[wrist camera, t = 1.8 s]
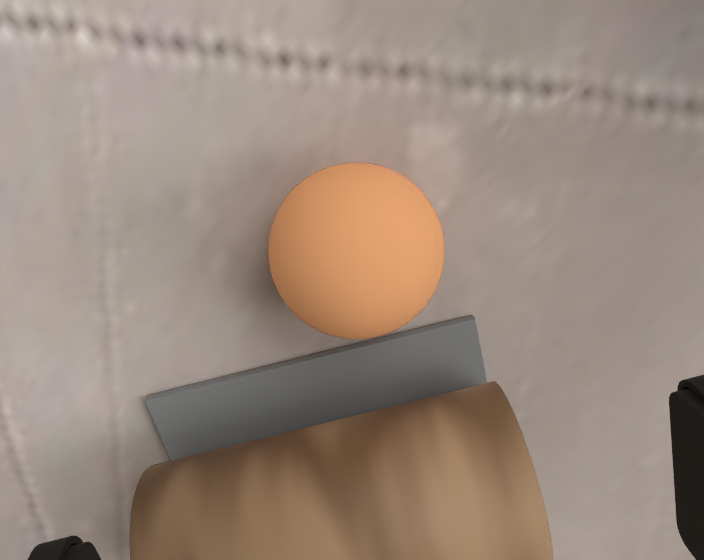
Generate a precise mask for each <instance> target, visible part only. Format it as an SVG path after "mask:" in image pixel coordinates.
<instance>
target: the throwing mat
mask: <svg viewBox="0 0 704 560" xmlns="http://www.w3.org/2000/svg"><path fill="white" fill-rule="evenodd" d="M485 383H487V382H486V377H485V371H484V366H483V360H482V355H481V349H480V344H479V339H478V333H477V328H476V322H475V318H474V317H473V315H470V316H466V317H462V318H458V319H454V320H450V321H446V322H442V323H438V324H434V325H429V326H425V327H421V328H417V329H413V330H409V331H405V332H401V333H397V334H393V335H389V336H385V337H381V338H377V339H373V340H369V341H365V342H361V343H357V344H353V345H349V346H345V347H341V348H337V349H333V350H329V351H325V352H321V353H317V354H313V355H309V356H305V357H301V358H297V359H293V360H288V361H284V362H280V363H276V364H272V365H268V366H264V367H260V368H256V369H252V370H248V371H244V372H240V373H236V374H232V375H228V376H224V377H220V378H216V379H212V380H208V381H204V382H200V383H196V384H192V385H188V386H184V387H180V388H176V389H172V390H168V391H164V392H160V393H156V394H152V395H147V397H146V399H145V402H146V405H147V407H148V409H149V412H150V414H151V416H152V419H153V421H154V423H155V426H156V428H157V430H158V433H159V435H160V437H161V440H162V442H163V444H164V447H165V449H166V451H167V454H168V456H169V458H170V461H172V460H176V459H180V458H184V457H188V456H192V455H196V454H200V453H205V452H209V451H213V450H217V449H221V448H225V447H229V446H233V445H237V444H241V443H245V442H249V441H253V440H257V439H262V438H266V437H270V436H274V435H278V434H282V433H286V432H290V431H294V430H298V429H302V428H306V427H310V426H314V425H319V424H323V423H327V422H331V421H335V420H339V419H343V418H347V417H351V416H355V415H359V414H363V413H367V412H371V411H376V410H380V409H384V408H388V407H392V406H396V405H400V404H404V403H408V402H412V401H416V400H420V399H424V398H428V397H433V396H437V395H441V394H445V393H449V392H453V391H457V390H461V389H465V388H469V387H473V386H477V385H481V384H485Z"/></svg>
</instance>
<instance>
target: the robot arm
mask: <svg viewBox="0 0 704 560" xmlns="http://www.w3.org/2000/svg"><path fill="white" fill-rule="evenodd" d="M669 407H670V423H671V438H672V454H673V470H674V486H675V502H676V518H677V526H678V530H679V533H680V535H681V538H682V540H683V542H684V544H685V545H686V547H687V548H688V550H689V551H690V552H691V553H692V555H693V556H694V557H695V559H696V560H704V375H701V376H697V377H693V378H689V379H685V380H682V381H681V382H679V385H678V391H677V392H673V393H671V394H670V397H669ZM28 560H101V559H100V557H99V555H98V553H97V551H96V549H95V547H94V546H93V544H92V543H90V542H84V543H83V541H82V540H81V539H80V538H79V537H77V536H69V537H65V538H62V539H58V540H54V541H50V542H46V543H42V544H39V545H37V546H36V547H35V548H34V549H33V551H32V552H31V554H30V556H29V558H28Z"/></svg>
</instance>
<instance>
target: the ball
mask: <svg viewBox="0 0 704 560" xmlns="http://www.w3.org/2000/svg"><path fill="white" fill-rule="evenodd" d="M268 255H269V266H270V270H271V274H272V278H273V280H274V283H275V286H276V288H277V290H278V292H279V294H280V295H281V297H282V299H283V300H284V302H285V303H286V304H287V306H288V307H289V308H290V309H291V310H292V311H293V312H294V313H295V314H296V315H297V316H298V317H299V318H300V319H301V320H303V321H304V322H305V323H306V324H308V325H310V326H311V327H313V328H315V329H316V330H319V331H321V332H323V333H325V334H329V335H332V336H335V337H341V338H347V339H366V338H373V337H378V336H381V335H384V334H387V333H390V332H392V331H394V330H396V329H398V328H400V327H401V326H403V325H405V324H406V323H408V322H409V321H410V320H412V319H413V318H414V317H415V316H416V315H417V314H418V313H420V312H421V311H422V310H423V308H424V307H425V306H426V304H427V303H428V302H429V300H430V299H431V297H432V295H433V294H434V292H435V290H436V288H437V285H438V283H439V281H440V278H441V274H442V271H443V265H444V255H445V244H444V236H443V231H442V227H441V224H440V221H439V219H438V216H437V214H436V212H435V209H434V208H433V206H432V204H431V203H430V201H429V200H428V198H427V197H426V196H425V195H424V193H423V192H422V191H421V190H420V189H419V188H418V187H417V186H416V185H415V184H414V183H412V182H411V181H410V180H408V179H407V178H406V177H404V176H403V175H401V174H399V173H397V172H395V171H393V170H391V169H388V168H386V167H383V166H379V165H375V164H370V163H344V164H339V165H334V166H331V167H328V168H325V169H322V170H320V171H318V172H316V173H314V174H312V175H311V176H309V177H308V178H306V179H305V180H303V181H302V182H301V183H300V184H298V185H297V186H296V187H295V188H294V189H293V190H292V191H291V192H290V193H289V195H288V196H287V197H286V198H285V200H284V201H283V203H282V204H281V206H280V208H279V210H278V212H277V214H276V216H275V218H274V221H273V224H272V227H271V231H270V237H269V247H268Z"/></svg>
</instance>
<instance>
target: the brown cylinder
mask: <svg viewBox="0 0 704 560" xmlns="http://www.w3.org/2000/svg"><path fill="white" fill-rule="evenodd" d="M130 556H131V560H553V550H552V541H551V535H550V529H549V524H548V519H547V515H546V510H545V506H544V502H543V498H542V494H541V491H540V487H539V484H538V480H537V477H536V473H535V470H534V467H533V464H532V460H531V457H530V454H529V451H528V448H527V446H526V443H525V440H524V437H523V434H522V432H521V429H520V427H519V424H518V422H517V419H516V417H515V414H514V412H513V410H512V408H511V406H510V403H509V401H508V399H507V397H506V396H505V394H504V392H503V390H502V389H501V387H500V386H499V385H498V384H497V383H496V382H490V383H485V384H481V385H477V386H473V387H469V388H465V389H461V390H457V391H453V392H449V393H445V394H441V395H437V396H433V397H428V398H424V399H420V400H416V401H412V402H408V403H404V404H400V405H396V406H392V407H388V408H384V409H380V410H376V411H371V412H367V413H363V414H359V415H355V416H351V417H347V418H343V419H339V420H335V421H331V422H327V423H323V424H319V425H314V426H310V427H306V428H302V429H298V430H294V431H290V432H286V433H282V434H278V435H274V436H270V437H266V438H262V439H257V440H253V441H249V442H245V443H241V444H237V445H233V446H229V447H225V448H221V449H217V450H213V451H209V452H205V453H200V454H196V455H192V456H188V457H184V458H180V459H176V460H172V461H168V462H164V463H160V464H156V465H152V466H150V467H149V468H148V469H147V470H146V471H145V472H144V473H143V475H142V476H141V478H140V480H139V483H138V485H137V488H136V491H135V495H134V500H133V504H132V512H131V522H130Z"/></svg>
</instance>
